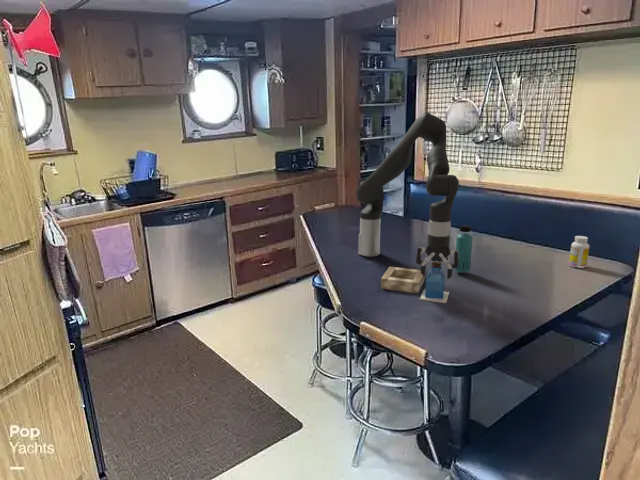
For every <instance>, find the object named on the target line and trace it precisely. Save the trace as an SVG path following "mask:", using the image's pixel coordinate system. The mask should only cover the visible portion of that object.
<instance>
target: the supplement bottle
mask: <svg viewBox="0 0 640 480" xmlns="http://www.w3.org/2000/svg"><path fill="white" fill-rule="evenodd" d="M588 240H589V237H587V236H583V235H576V236H574V241H573V242H572V243H571V246H570V251H569V260H568V265H569V264H570V265H572V266H586V265H587V264H588V260H589V259H588V258H589V252H590V244H589V243H588ZM586 267H587V266H586Z"/></svg>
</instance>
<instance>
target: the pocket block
mask: <svg viewBox="0 0 640 480" xmlns="http://www.w3.org/2000/svg"><path fill="white" fill-rule="evenodd" d="M382 275H383V276H382V277H381V278H380V279H381V280H380V289H383V290H393V291H398V292H405V293H413V294H419V293H420V291H421V289H422V286H423V284H424V283H425V280H426V279H425V276H426V275H425V276H423V274H421V269H416V268H415V269H414V268H406V267H397V266H396V267H395V266H389V267H388V268H387V270H386V271H385V272H384V273H383V274H382Z"/></svg>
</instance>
